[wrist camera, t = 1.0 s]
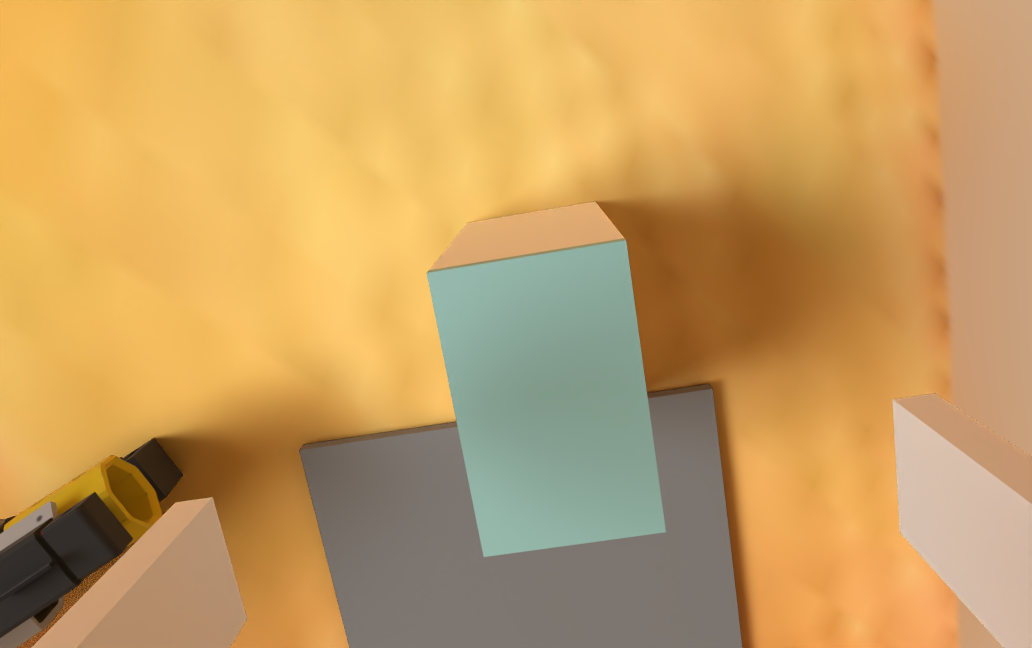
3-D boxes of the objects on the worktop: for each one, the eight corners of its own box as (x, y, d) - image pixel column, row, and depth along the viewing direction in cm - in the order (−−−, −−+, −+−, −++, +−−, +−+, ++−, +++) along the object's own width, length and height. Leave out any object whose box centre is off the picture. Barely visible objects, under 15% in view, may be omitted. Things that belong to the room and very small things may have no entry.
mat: (303, 444, 32) (299, 450, 32) (709, 383, 31) (712, 388, 30) (373, 723, 36) (371, 733, 35) (743, 677, 34) (746, 687, 34)
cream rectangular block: (467, 222, 30) (426, 272, 19) (595, 201, 29) (626, 240, 19) (502, 414, 32) (483, 557, 21) (623, 395, 31) (665, 532, 21)
